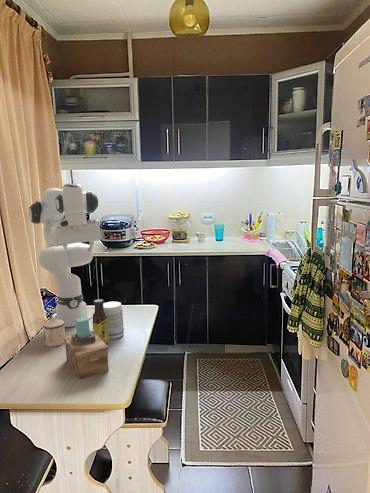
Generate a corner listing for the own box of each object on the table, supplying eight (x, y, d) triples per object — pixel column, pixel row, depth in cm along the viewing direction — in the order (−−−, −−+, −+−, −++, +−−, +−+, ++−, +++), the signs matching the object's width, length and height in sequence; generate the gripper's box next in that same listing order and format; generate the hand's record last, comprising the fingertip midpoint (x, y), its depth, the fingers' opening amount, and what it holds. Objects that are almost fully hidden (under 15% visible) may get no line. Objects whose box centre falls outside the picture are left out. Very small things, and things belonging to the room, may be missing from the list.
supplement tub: (127, 335, 187) (125, 304, 184) (109, 341, 181) (106, 309, 179) (117, 329, 195) (115, 299, 192) (98, 335, 189) (96, 304, 186)
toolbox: (65, 359, 165) (62, 332, 163) (94, 352, 171) (92, 326, 169) (79, 380, 149) (76, 350, 146) (110, 371, 154) (108, 342, 152)
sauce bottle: (105, 348, 174) (102, 303, 171) (91, 347, 176) (88, 303, 172) (111, 342, 181) (108, 298, 177) (97, 341, 182) (94, 298, 178)
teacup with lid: (50, 338, 187) (47, 313, 185) (69, 338, 186) (67, 313, 184) (38, 349, 176) (35, 323, 173) (58, 350, 174) (56, 323, 172)
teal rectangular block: (77, 339, 161) (75, 318, 159) (87, 337, 162) (85, 316, 161) (80, 343, 157) (78, 321, 156) (90, 340, 159) (88, 319, 158)
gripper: (97, 219, 186) (100, 249, 187) (50, 223, 176) (54, 255, 177) (101, 219, 180) (104, 250, 182) (53, 223, 170) (57, 256, 172)
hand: (79, 253), depth 179 cm, fingers open, 8 cm apart
